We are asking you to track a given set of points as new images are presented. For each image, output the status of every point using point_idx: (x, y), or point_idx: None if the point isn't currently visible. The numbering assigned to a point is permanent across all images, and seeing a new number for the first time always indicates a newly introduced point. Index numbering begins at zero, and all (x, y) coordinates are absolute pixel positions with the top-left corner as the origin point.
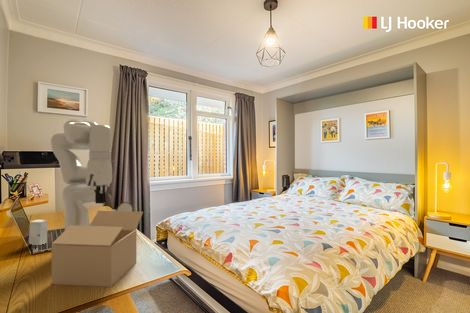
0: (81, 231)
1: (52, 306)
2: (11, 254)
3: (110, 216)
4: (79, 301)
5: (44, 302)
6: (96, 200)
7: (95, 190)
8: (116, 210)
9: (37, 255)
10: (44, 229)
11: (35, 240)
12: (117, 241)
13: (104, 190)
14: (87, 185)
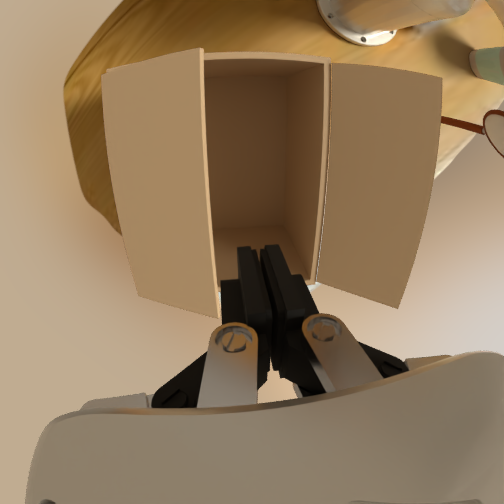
0: (165, 147)
1: (80, 167)
2: None
3: (400, 157)
4: (105, 207)
5: (86, 138)
6: (220, 283)
7: (189, 385)
8: (502, 114)
9: None
10: None
11: None
12: (302, 195)
13: (297, 390)
14: (69, 420)
